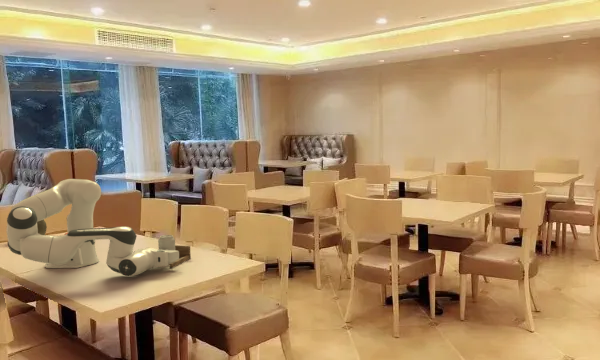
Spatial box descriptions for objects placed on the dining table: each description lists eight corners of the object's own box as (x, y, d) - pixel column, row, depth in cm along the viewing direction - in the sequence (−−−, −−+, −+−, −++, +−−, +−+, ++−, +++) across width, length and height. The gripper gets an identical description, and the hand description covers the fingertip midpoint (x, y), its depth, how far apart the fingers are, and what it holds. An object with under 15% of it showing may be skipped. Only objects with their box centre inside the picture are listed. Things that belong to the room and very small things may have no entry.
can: (172, 263, 231) (171, 237, 230) (156, 263, 232) (155, 237, 231) (178, 259, 238) (177, 234, 238) (162, 259, 239) (161, 234, 238)
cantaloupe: (39, 236, 298) (37, 211, 297) (52, 239, 290) (50, 213, 289) (14, 241, 287) (12, 215, 286) (26, 244, 279) (24, 217, 277)
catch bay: (172, 267, 224) (171, 254, 224) (145, 266, 228) (144, 253, 227) (190, 258, 241) (190, 245, 240) (165, 256, 244) (164, 244, 244)
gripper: (127, 264, 221) (145, 256, 234) (169, 266, 215) (185, 258, 228) (126, 249, 220) (144, 243, 233) (169, 252, 215) (184, 245, 228)
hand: (165, 250), depth 231 cm, fingers closed
